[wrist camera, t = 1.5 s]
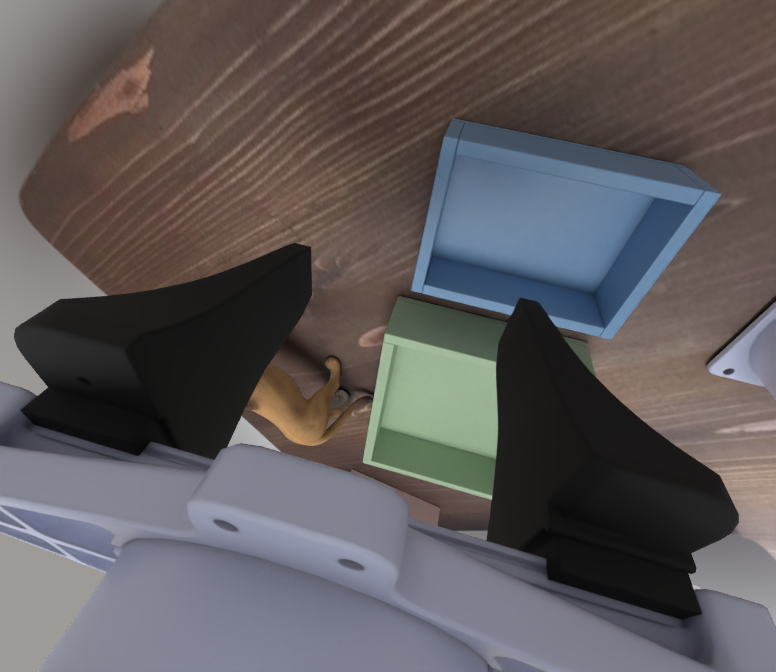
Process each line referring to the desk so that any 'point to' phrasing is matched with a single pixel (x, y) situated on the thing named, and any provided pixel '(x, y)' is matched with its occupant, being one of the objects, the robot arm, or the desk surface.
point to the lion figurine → (302, 405)
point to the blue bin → (553, 225)
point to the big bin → (440, 396)
